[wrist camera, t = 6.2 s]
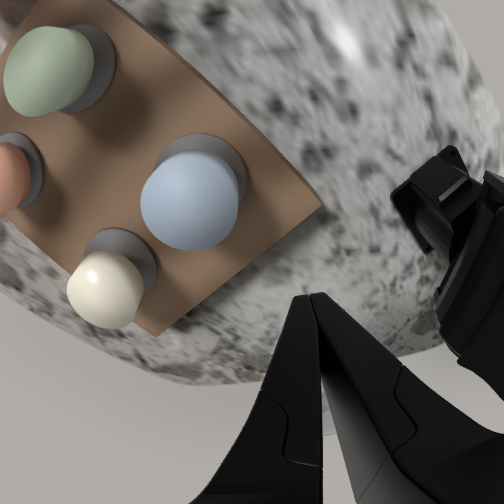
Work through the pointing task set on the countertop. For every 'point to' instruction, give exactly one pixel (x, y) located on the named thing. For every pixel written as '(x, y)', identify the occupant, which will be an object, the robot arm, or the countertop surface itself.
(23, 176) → the terracotta button
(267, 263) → the countertop surface
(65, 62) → the sage button
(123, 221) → the wooden button board
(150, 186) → the slate blue button
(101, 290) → the cream button
